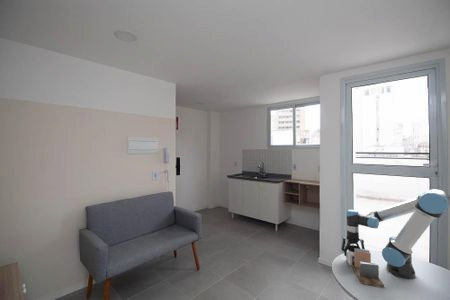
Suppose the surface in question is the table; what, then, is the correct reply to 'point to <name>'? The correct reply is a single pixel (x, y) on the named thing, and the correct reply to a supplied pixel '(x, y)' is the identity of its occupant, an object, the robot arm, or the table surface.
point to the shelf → (367, 280)
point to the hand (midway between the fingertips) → (353, 261)
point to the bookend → (369, 270)
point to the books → (361, 256)
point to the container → (351, 254)
